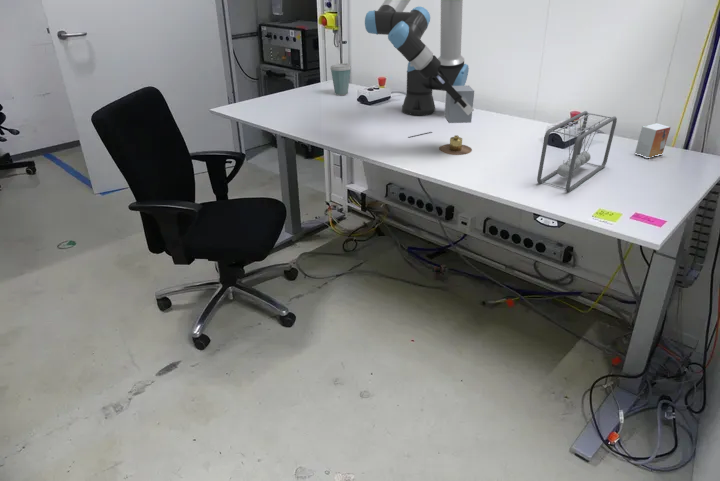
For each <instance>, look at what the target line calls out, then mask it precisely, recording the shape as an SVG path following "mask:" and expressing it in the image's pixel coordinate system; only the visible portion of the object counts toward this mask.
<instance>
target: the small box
mask: <svg viewBox="0 0 720 481" xmlns="http://www.w3.org/2000/svg"><path fill="white" fill-rule="evenodd" d="M671 128H672V127H671V126H668V125H665V124H661V123H658V122H655V123H653V124H649V125H643V126H641V128H640V129H641V130H640V133H639V137H638V141H637V144H636V148H635V151H634V154H635V153H637V154H641V155H643V156H646V157H652V156H655V155H658V154H662V153H664V150H665V147H666V143H667V142H668V137H669V135H670V132H671V131H670V130H671ZM662 155H663V154H662Z"/></svg>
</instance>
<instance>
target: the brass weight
mask: <svg viewBox="0 0 720 481" xmlns="http://www.w3.org/2000/svg"><path fill="white" fill-rule="evenodd" d="M449 144H450V148H449V149H450V150H451V151H461V149H462V145H463V138H462V137H460V136H459V135H454V136H452V137H450V139H449Z"/></svg>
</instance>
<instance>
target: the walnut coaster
mask: <svg viewBox="0 0 720 481" xmlns="http://www.w3.org/2000/svg"><path fill="white" fill-rule="evenodd" d="M449 148H450V143H447V144H443V145H440V146H439V147H438V149H439V152H441V153H443V154H446V155H452V156H462V155H468V154H470V153H472V151H473V149H472V147H470V146H468V145H466V144H462V149H461V151H451V150H450V149H449Z"/></svg>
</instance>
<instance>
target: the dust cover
mask: <svg viewBox="0 0 720 481" xmlns="http://www.w3.org/2000/svg"><path fill="white" fill-rule="evenodd" d="M452 87H453V88H454V89H455V90H456V91H457V92H458V93H459V95H461V96H462V97H463V98H464V99H465V100H466V102H467V103H468V104H469V105H470V106H471V107H472V108H473V107H474V98H475V90H474V89H473V88H472V87H471V86H470V85H465V86H452ZM454 102H455V100H454V99H453V98H452V97H451V96H450V95H449V94H448V93H447V92H446V91H445V104H444V119H446V122H447V123H448V124H462V123H463V124H464V123H465V124H467V123H468V124H469V123H472V118H473V112H471V113H470V114H469V115H467V114H466V113H465V112H464V111H463V109H462V108H461V107H460V106H459V105H458V104H457V103H456V104H454ZM473 109H474V108H473Z"/></svg>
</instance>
